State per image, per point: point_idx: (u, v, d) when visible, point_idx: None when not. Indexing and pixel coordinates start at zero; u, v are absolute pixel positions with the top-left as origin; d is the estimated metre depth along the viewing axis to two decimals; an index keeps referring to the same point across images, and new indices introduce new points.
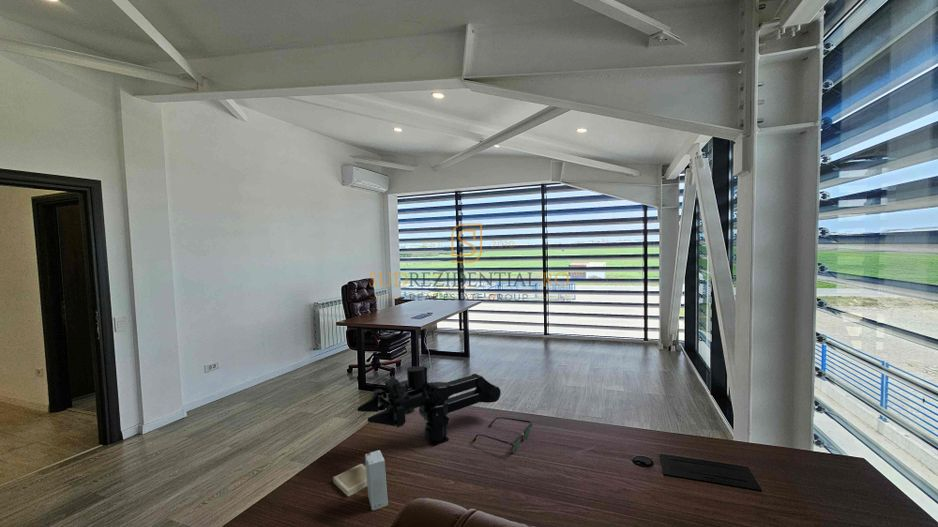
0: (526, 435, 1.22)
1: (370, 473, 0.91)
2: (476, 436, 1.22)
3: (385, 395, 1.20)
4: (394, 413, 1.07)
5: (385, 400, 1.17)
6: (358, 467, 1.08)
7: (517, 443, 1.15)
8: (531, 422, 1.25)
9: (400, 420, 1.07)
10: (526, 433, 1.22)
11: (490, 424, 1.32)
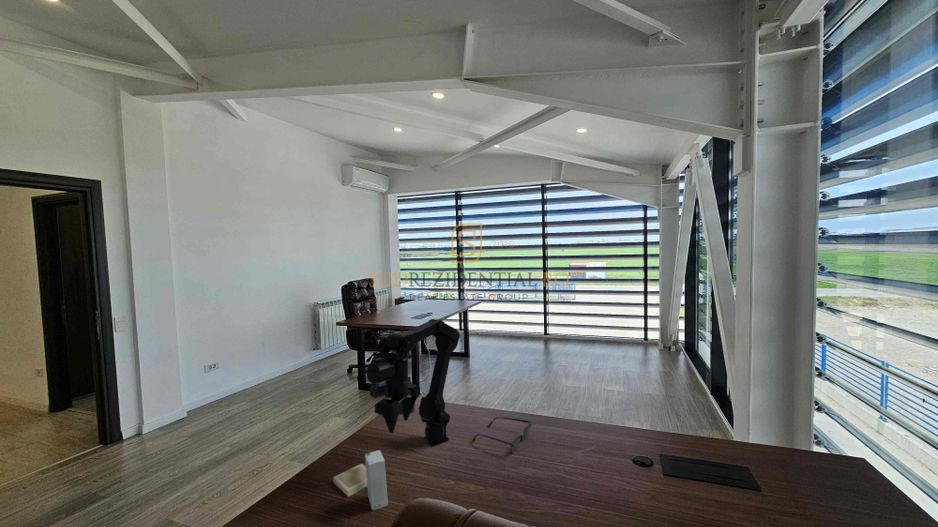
0: (525, 435, 1.22)
1: (370, 473, 0.91)
2: (475, 436, 1.22)
3: None
4: None
5: None
6: (358, 467, 1.08)
7: (516, 443, 1.15)
8: (530, 422, 1.25)
9: (386, 411, 1.00)
10: (525, 433, 1.22)
11: (489, 424, 1.32)
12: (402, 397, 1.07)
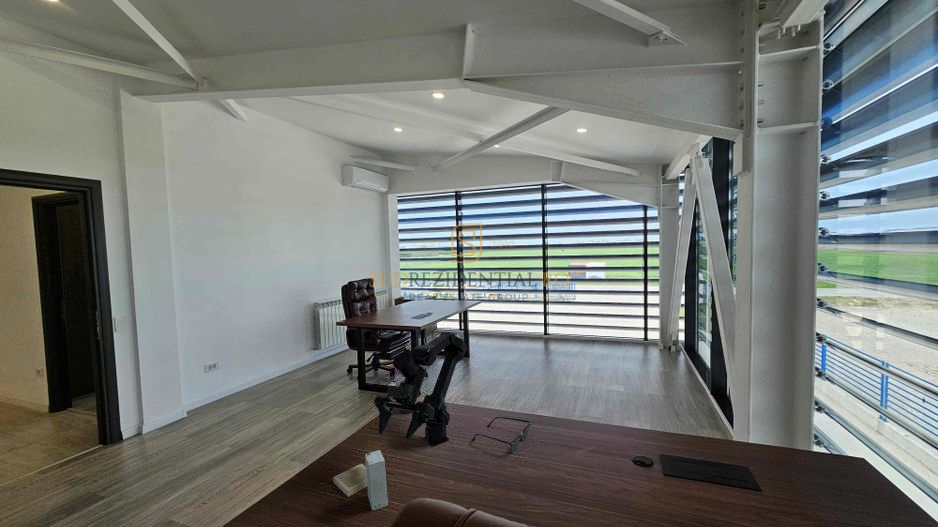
0: (525, 435, 1.22)
1: (370, 473, 0.91)
2: (475, 436, 1.22)
3: (387, 398, 1.09)
4: (423, 414, 1.02)
5: (394, 404, 1.07)
6: (358, 467, 1.08)
7: (515, 443, 1.15)
8: (530, 422, 1.26)
9: (432, 413, 1.04)
10: (525, 433, 1.22)
11: (489, 424, 1.33)
12: None
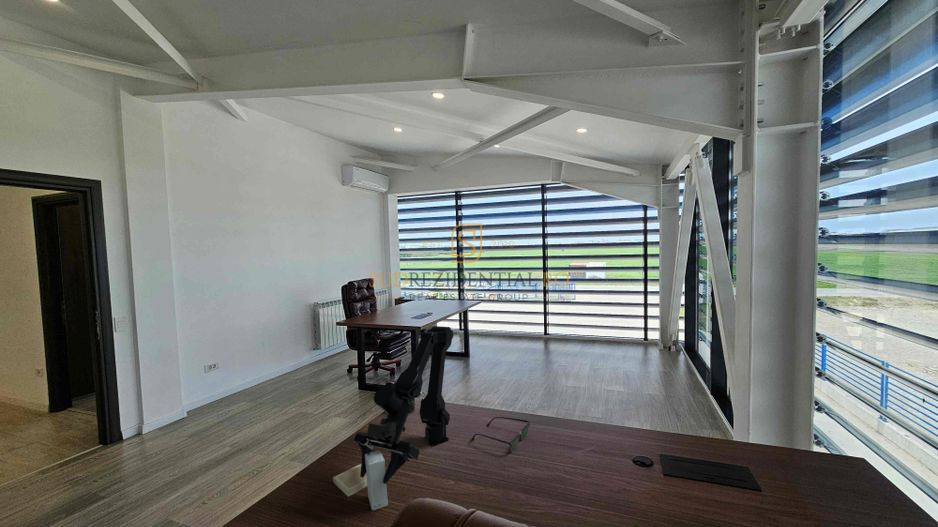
0: (524, 434, 1.23)
1: (370, 473, 0.91)
2: (474, 435, 1.22)
3: None
4: (403, 455, 0.94)
5: (376, 442, 0.99)
6: (358, 467, 1.08)
7: (515, 443, 1.16)
8: (529, 422, 1.26)
9: (415, 454, 0.95)
10: (524, 432, 1.22)
11: (488, 424, 1.33)
12: None
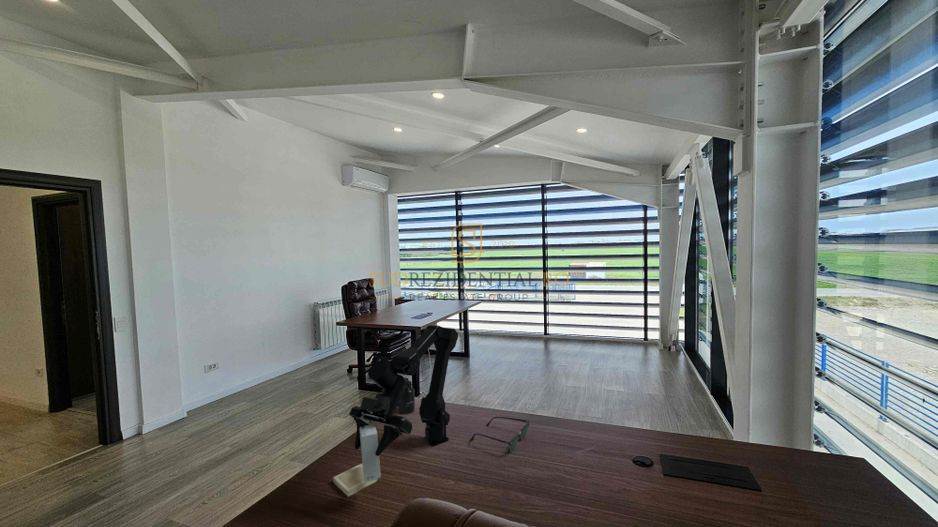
0: (523, 434, 1.23)
1: (363, 445, 0.92)
2: (474, 435, 1.22)
3: (364, 410, 1.02)
4: (396, 429, 0.95)
5: (370, 416, 1.00)
6: (358, 467, 1.08)
7: (514, 443, 1.16)
8: (528, 421, 1.26)
9: (408, 428, 0.96)
10: (523, 432, 1.22)
11: (488, 423, 1.33)
12: None
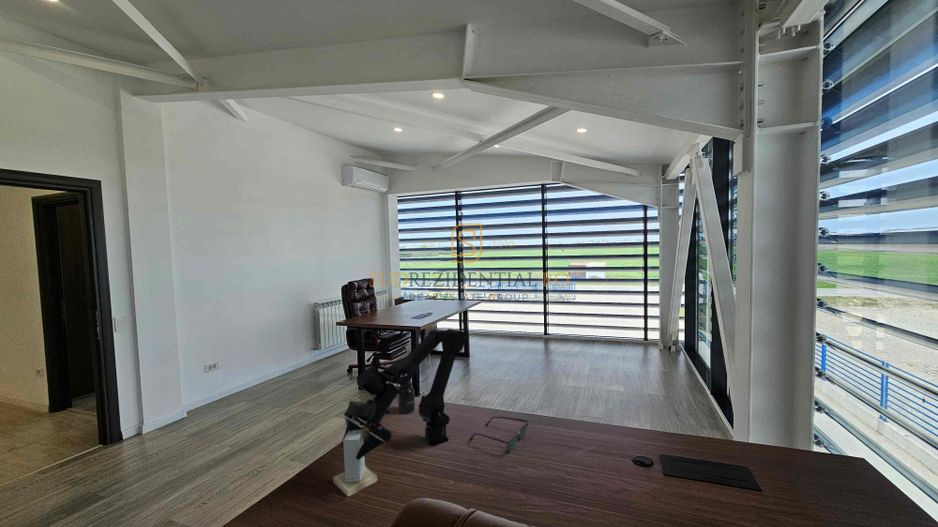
0: (522, 434, 1.23)
1: (344, 448, 1.00)
2: (473, 435, 1.23)
3: None
4: (375, 436, 0.99)
5: (360, 420, 1.07)
6: None
7: (513, 442, 1.16)
8: (527, 421, 1.26)
9: (386, 437, 1.00)
10: (522, 432, 1.23)
11: (487, 423, 1.33)
12: None
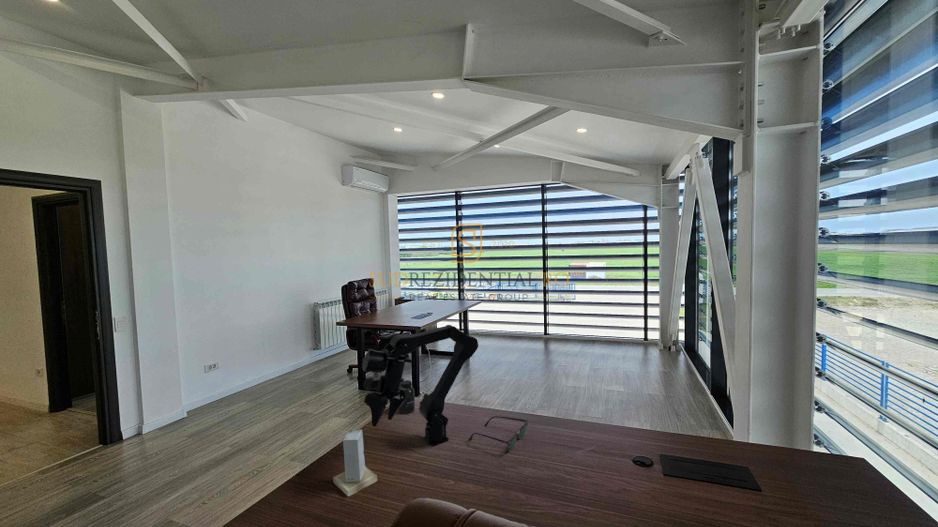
0: (522, 434, 1.23)
1: (344, 448, 1.00)
2: (472, 435, 1.23)
3: None
4: None
5: None
6: None
7: (512, 442, 1.16)
8: (527, 421, 1.26)
9: (374, 403, 1.07)
10: (522, 432, 1.23)
11: (486, 423, 1.33)
12: (392, 395, 1.13)
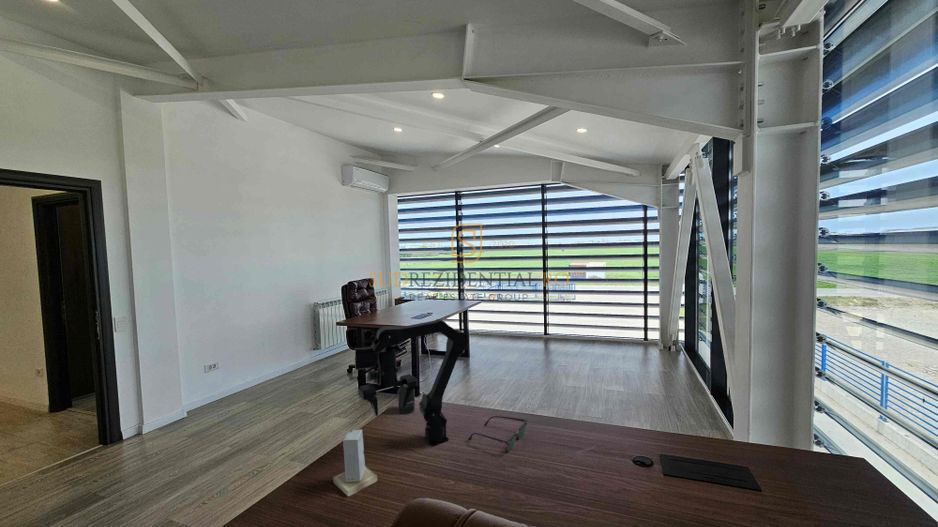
0: (521, 433, 1.23)
1: (344, 448, 1.00)
2: (471, 435, 1.23)
3: (401, 377, 1.23)
4: None
5: None
6: None
7: (512, 442, 1.16)
8: (526, 421, 1.26)
9: (361, 395, 1.12)
10: (521, 431, 1.23)
11: (485, 423, 1.33)
12: (384, 386, 1.15)
